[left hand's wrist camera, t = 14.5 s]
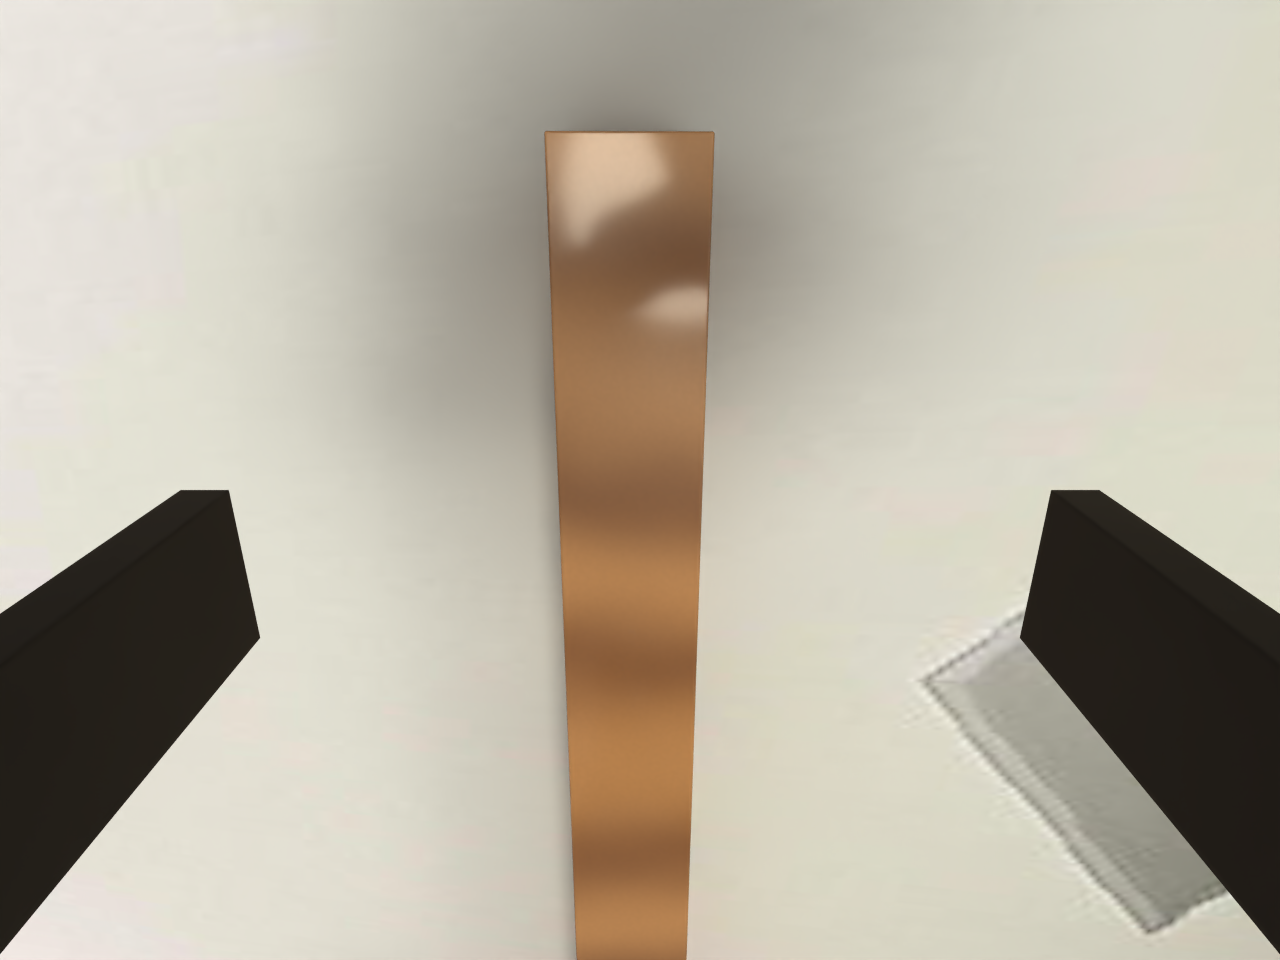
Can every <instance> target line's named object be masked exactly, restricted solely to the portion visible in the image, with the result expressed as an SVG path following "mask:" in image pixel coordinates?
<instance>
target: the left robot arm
mask: <svg viewBox="0 0 1280 960" xmlns="http://www.w3.org/2000/svg"><path fill="white" fill-rule="evenodd" d="M259 639H260V635H259V630H258V626H257V621H256V616H255V611H254V607H253V602H252V597H251V593H250V588H249V583H248V579H247V574H246V569H245V564H244V560H243V555H242V550H241V546H240V541H239V536H238V531H237V527H236V522H235V517H234V513H233V508H232V503H231V499H230V494H229V490H180V491H179V492H177V493H176V494H174V495H173V496H171V497H170V498H169V499H167V500H166V501H164V502H163V503H161V504H160V505H158V506H157V507H155V508H154V509H152V510H151V511H150V512H148V513H147V514H145V515H144V516H142V517H141V518H139V519H138V520H136V521H135V522H134V523H132V524H131V525H129V526H128V527H126V528H125V529H123V530H122V531H120V532H119V533H117V534H116V535H115V536H113V537H112V538H110V539H109V540H107V541H106V542H104V543H103V544H101V545H100V546H98V547H97V548H96V549H94V550H93V551H91V552H90V553H88V554H87V555H85V556H84V557H82V558H81V559H79V560H78V561H77V562H75V563H74V564H72V565H71V566H69V567H68V568H66V569H65V570H63V571H62V572H61V573H59V574H58V575H56V576H55V577H53V578H52V579H50V580H49V581H47V582H46V583H44V584H43V585H42V586H40V587H39V588H37V589H36V590H34V591H33V592H31V593H30V594H28V595H27V596H25V597H24V598H23V599H21V600H20V601H18V602H17V603H15V604H14V605H12V606H11V607H9V608H8V609H6V610H5V611H4V612H2V613H1V614H0V954H1V952H2V951H3V950H4V949H5V948H6V946H7V945H8V944H9V943H10V941H11V940H12V939H13V938H14V937H15V935H16V934H17V933H18V932H19V931H20V929H21V928H22V927H23V926H24V924H25V923H26V922H27V921H28V920H29V918H30V917H31V916H32V915H33V913H34V912H35V911H36V910H37V909H38V907H39V906H40V905H41V904H42V903H43V901H44V900H45V899H46V898H47V896H48V895H49V894H50V893H51V892H52V890H53V889H54V888H55V887H56V886H57V884H58V883H59V882H60V881H61V879H62V878H63V877H64V876H65V875H66V873H67V872H68V871H69V870H70V868H71V867H72V866H73V865H74V864H75V862H76V861H77V860H78V859H79V858H80V856H81V855H82V854H83V853H84V851H85V850H86V849H87V848H88V847H89V845H90V844H91V843H92V842H93V840H94V839H95V838H96V837H97V836H98V834H99V833H100V832H101V831H102V830H103V828H104V827H105V826H106V825H107V823H108V822H109V821H110V820H111V819H112V817H113V816H114V815H115V814H116V813H117V811H118V810H119V809H120V808H121V806H122V805H123V804H124V803H125V802H126V800H127V799H128V798H129V797H130V795H131V794H132V793H133V792H134V791H135V789H136V788H137V787H138V786H139V785H140V783H141V782H142V781H143V780H144V778H145V777H146V776H147V775H148V774H149V772H150V771H151V770H152V769H153V768H154V766H155V765H156V764H157V763H158V761H159V760H160V759H161V758H162V757H163V755H164V754H165V753H166V752H167V750H168V749H169V748H170V747H171V746H172V744H173V743H174V742H175V741H176V740H177V738H178V737H179V736H180V735H181V733H182V732H183V731H184V730H185V729H186V727H187V726H188V725H189V724H190V722H191V721H192V720H193V719H194V718H195V716H196V715H197V714H198V713H199V712H200V710H201V709H202V708H203V707H204V705H205V704H206V703H207V702H208V701H209V699H210V698H211V697H212V696H213V695H214V693H215V692H216V691H217V690H218V688H219V687H220V686H221V685H222V684H223V682H224V681H225V680H226V679H227V677H228V676H229V675H230V674H231V673H232V671H233V670H234V669H235V668H236V667H237V665H238V664H239V663H240V662H241V660H242V659H243V658H244V657H245V656H246V654H247V653H248V652H249V651H250V649H251V648H252V647H253V646H254V645H255V643H256V642H257V641H258V640H259ZM1020 639H1021V640H1022V641H1023V642H1024V643H1025V645H1026V646H1027V647H1028V648H1029V649H1030V651H1031V652H1032V653H1033V654H1034V656H1035V657H1036V658H1037V659H1038V660H1039V662H1040V663H1041V664H1042V665H1043V667H1044V668H1045V669H1046V670H1047V671H1048V673H1049V674H1050V675H1051V676H1052V677H1053V679H1054V680H1055V681H1056V682H1057V684H1058V685H1059V686H1060V687H1061V688H1062V690H1063V691H1064V692H1065V693H1066V695H1067V696H1068V697H1069V698H1070V699H1071V701H1072V702H1073V703H1074V704H1075V705H1076V707H1077V708H1078V709H1079V710H1080V712H1081V713H1082V714H1083V715H1084V716H1085V718H1086V719H1087V720H1088V721H1089V722H1090V724H1091V725H1092V726H1093V727H1094V729H1095V730H1096V731H1097V732H1098V733H1099V735H1100V736H1101V737H1102V738H1103V740H1104V741H1105V742H1106V743H1107V744H1108V746H1109V747H1110V748H1111V749H1112V750H1113V752H1114V753H1115V754H1116V755H1117V757H1118V758H1119V759H1120V760H1121V761H1122V763H1123V764H1124V765H1125V766H1126V768H1127V769H1128V770H1129V771H1130V772H1131V774H1132V775H1133V776H1134V777H1135V778H1136V780H1137V781H1138V782H1139V783H1140V785H1141V786H1142V787H1143V788H1144V789H1145V791H1146V792H1147V793H1148V794H1149V795H1150V797H1151V798H1152V799H1153V800H1154V802H1155V803H1156V804H1157V805H1158V806H1159V808H1160V809H1161V810H1162V811H1163V813H1164V814H1165V815H1166V816H1167V817H1168V819H1169V820H1170V821H1171V822H1172V823H1173V825H1174V826H1175V827H1176V828H1177V830H1178V831H1179V832H1180V833H1181V834H1182V836H1183V837H1184V838H1185V839H1186V840H1187V842H1188V843H1189V844H1190V845H1191V847H1192V848H1193V849H1194V850H1195V851H1196V853H1197V854H1198V855H1199V856H1200V858H1201V859H1202V860H1203V861H1204V862H1205V864H1206V865H1207V866H1208V867H1209V868H1210V870H1211V871H1212V872H1213V873H1214V875H1215V876H1216V877H1217V878H1218V879H1219V881H1220V882H1221V883H1222V884H1223V886H1224V887H1225V888H1226V889H1227V890H1228V892H1229V893H1230V894H1231V895H1232V896H1233V898H1234V899H1235V900H1236V901H1237V903H1238V904H1239V905H1240V906H1241V907H1242V909H1243V910H1244V911H1245V912H1246V913H1247V915H1248V916H1249V917H1250V918H1251V920H1252V921H1253V922H1254V923H1255V924H1256V926H1257V927H1258V928H1259V929H1260V931H1261V932H1262V933H1263V934H1264V935H1265V937H1266V938H1267V939H1268V940H1269V941H1270V943H1271V944H1272V945H1273V946H1274V948H1275V949H1276V950H1277V951H1278V952H1279V954H1280V614H1279V613H1278V612H1276V611H1275V610H1274V609H1272V608H1271V607H1269V606H1268V605H1266V604H1265V603H1263V602H1262V601H1260V600H1259V599H1257V598H1256V597H1255V596H1253V595H1252V594H1250V593H1249V592H1247V591H1246V590H1244V589H1243V588H1241V587H1240V586H1238V585H1237V584H1236V583H1234V582H1233V581H1231V580H1230V579H1228V578H1227V577H1225V576H1224V575H1222V574H1221V573H1219V572H1218V571H1217V570H1215V569H1214V568H1212V567H1211V566H1209V565H1208V564H1206V563H1205V562H1203V561H1202V560H1201V559H1199V558H1198V557H1196V556H1195V555H1193V554H1192V553H1190V552H1189V551H1187V550H1186V549H1184V548H1183V547H1182V546H1180V545H1179V544H1177V543H1176V542H1174V541H1173V540H1171V539H1170V538H1168V537H1167V536H1165V535H1164V534H1163V533H1161V532H1160V531H1158V530H1157V529H1155V528H1154V527H1152V526H1151V525H1149V524H1148V523H1146V522H1145V521H1144V520H1142V519H1141V518H1139V517H1138V516H1136V515H1135V514H1133V513H1132V512H1130V511H1129V510H1128V509H1126V508H1125V507H1123V506H1122V505H1120V504H1119V503H1117V502H1116V501H1114V500H1113V499H1111V498H1110V497H1109V496H1107V495H1106V494H1104V493H1103V492H1101V491H1100V490H1051V494H1050V499H1049V503H1048V508H1047V513H1046V517H1045V522H1044V527H1043V532H1042V536H1041V541H1040V546H1039V550H1038V555H1037V560H1036V564H1035V569H1034V574H1033V579H1032V583H1031V588H1030V593H1029V597H1028V602H1027V607H1026V611H1025V616H1024V621H1023V626H1022V630H1021V635H1020Z"/></svg>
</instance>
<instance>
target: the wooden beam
mask: <svg viewBox="0 0 1280 960" xmlns="http://www.w3.org/2000/svg"><path fill="white" fill-rule="evenodd" d="M544 135H545V160H546V186H547V212H548V237H549V263H550V288H551V314H552V340H553V365H554V391H555V416H556V442H557V468H558V493H559V519H560V544H561V570H562V596H563V621H564V647H565V672H566V698H567V724H568V749H569V775H570V800H571V826H572V852H573V877H574V903H575V928H576V954H577V960H686V956H687V926H688V897H689V868H690V838H691V809H692V779H693V750H694V721H695V691H696V662H697V633H698V603H699V574H700V544H701V515H702V486H703V456H704V427H705V398H706V368H707V339H708V309H709V280H710V251H711V221H712V192H713V162H714V132H705V131H545V133H544Z"/></svg>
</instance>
